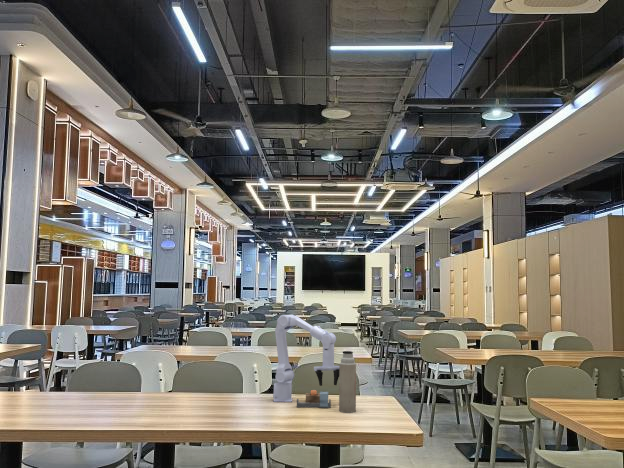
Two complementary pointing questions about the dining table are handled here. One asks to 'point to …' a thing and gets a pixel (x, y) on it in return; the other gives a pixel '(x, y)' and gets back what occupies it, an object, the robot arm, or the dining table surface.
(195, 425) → the dining table surface
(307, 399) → the square wooden frame
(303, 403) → the rail
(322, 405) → the block
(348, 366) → the thermos bottle
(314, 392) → the gauge button
